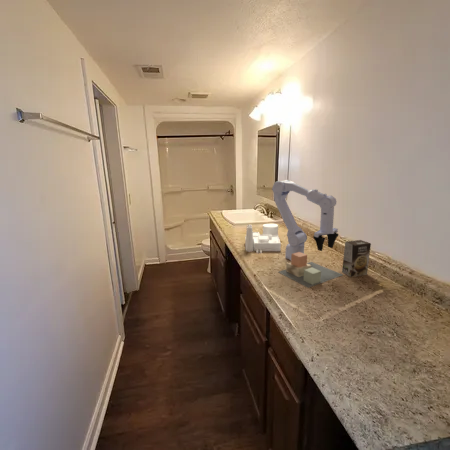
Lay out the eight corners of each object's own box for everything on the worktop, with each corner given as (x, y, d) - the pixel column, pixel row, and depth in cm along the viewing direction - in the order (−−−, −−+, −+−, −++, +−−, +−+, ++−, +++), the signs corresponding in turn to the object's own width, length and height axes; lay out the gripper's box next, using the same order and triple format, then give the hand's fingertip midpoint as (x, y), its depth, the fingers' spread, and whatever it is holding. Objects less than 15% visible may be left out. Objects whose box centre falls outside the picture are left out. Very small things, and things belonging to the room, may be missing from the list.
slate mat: (277, 273, 127) (277, 271, 127) (311, 263, 139) (311, 261, 138) (308, 289, 111) (308, 287, 111) (343, 276, 123) (343, 274, 122)
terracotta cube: (291, 263, 126) (291, 253, 125) (298, 261, 129) (299, 251, 127) (298, 267, 122) (299, 257, 121) (306, 264, 124) (307, 254, 123)
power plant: (286, 254, 154) (287, 229, 150) (245, 253, 156) (245, 229, 152) (278, 236, 188) (279, 216, 184) (245, 236, 189) (244, 216, 186)
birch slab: (286, 271, 128) (286, 263, 127) (298, 267, 132) (298, 259, 131) (298, 277, 121) (298, 269, 120) (310, 273, 125) (311, 265, 124)
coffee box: (351, 279, 120) (354, 245, 116) (341, 273, 126) (344, 241, 122) (367, 276, 122) (371, 243, 118) (357, 271, 128) (360, 239, 125)
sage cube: (303, 280, 118) (304, 269, 117) (311, 277, 120) (312, 267, 119) (312, 284, 114) (313, 273, 112) (320, 281, 116) (321, 271, 115)
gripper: (323, 225, 119) (321, 254, 123) (344, 220, 126) (342, 248, 130) (311, 222, 125) (309, 250, 128) (331, 218, 132) (329, 244, 136)
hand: (325, 248), depth 129 cm, fingers open, 7 cm apart
